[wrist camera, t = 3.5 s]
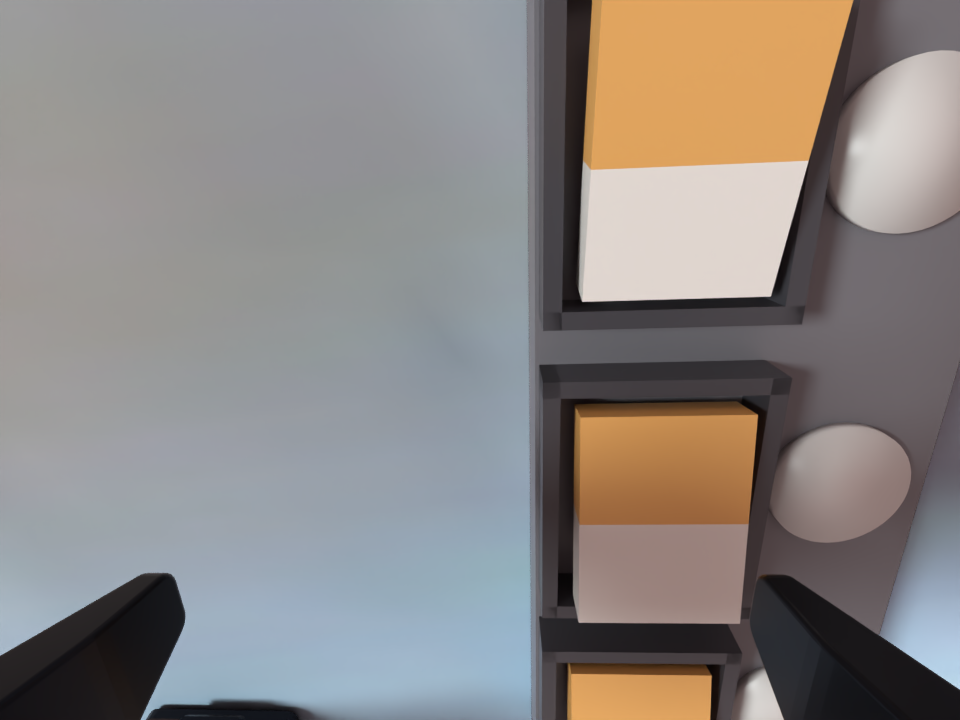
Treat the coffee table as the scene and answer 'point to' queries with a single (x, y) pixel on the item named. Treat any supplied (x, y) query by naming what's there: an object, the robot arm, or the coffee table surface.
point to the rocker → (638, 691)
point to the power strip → (762, 345)
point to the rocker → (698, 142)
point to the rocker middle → (661, 511)
